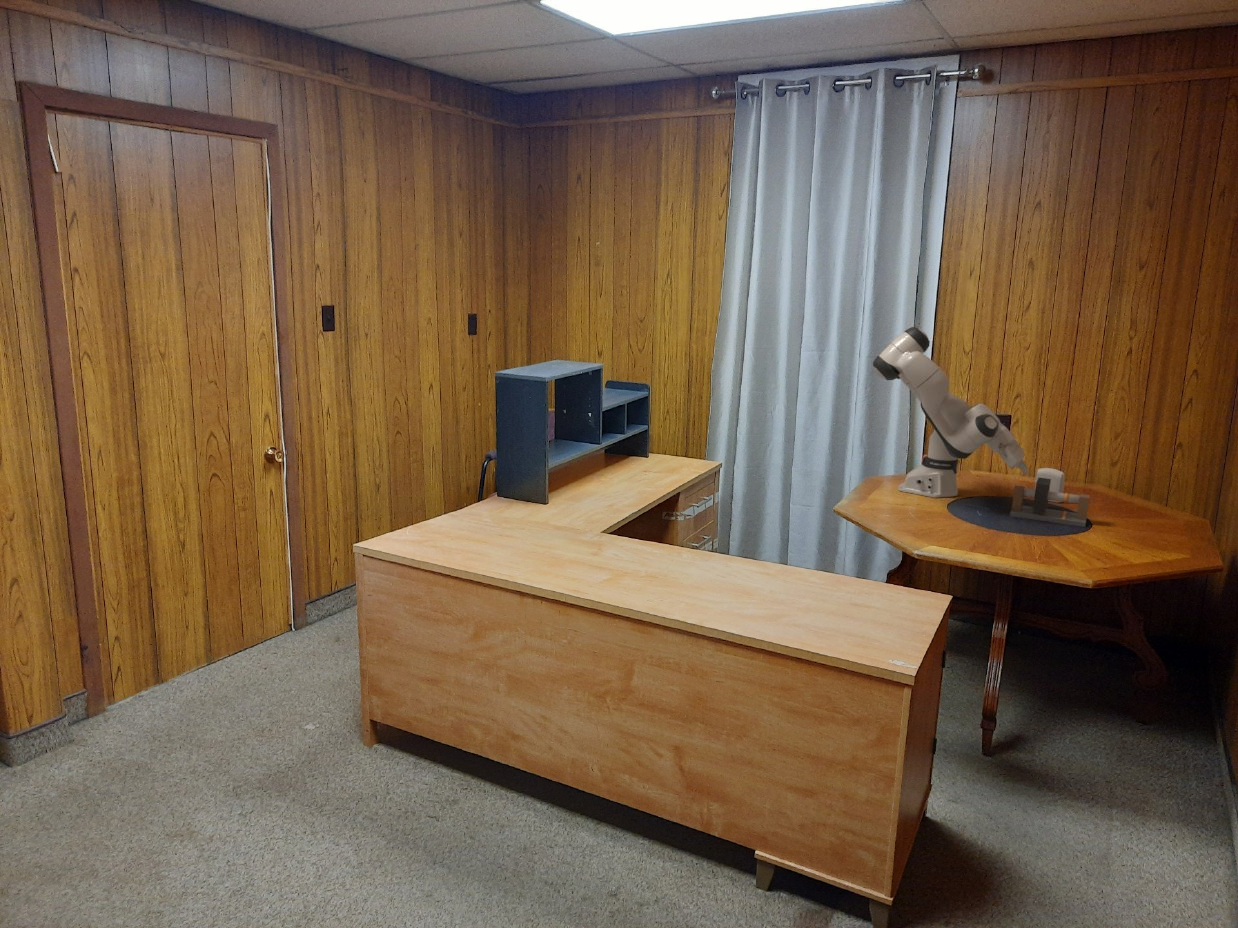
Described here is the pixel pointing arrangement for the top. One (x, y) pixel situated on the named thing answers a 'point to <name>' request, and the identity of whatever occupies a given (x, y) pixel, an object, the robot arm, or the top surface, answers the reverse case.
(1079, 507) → the pipe rig
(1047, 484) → the collar
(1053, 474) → the photo printer
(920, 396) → the robot arm
